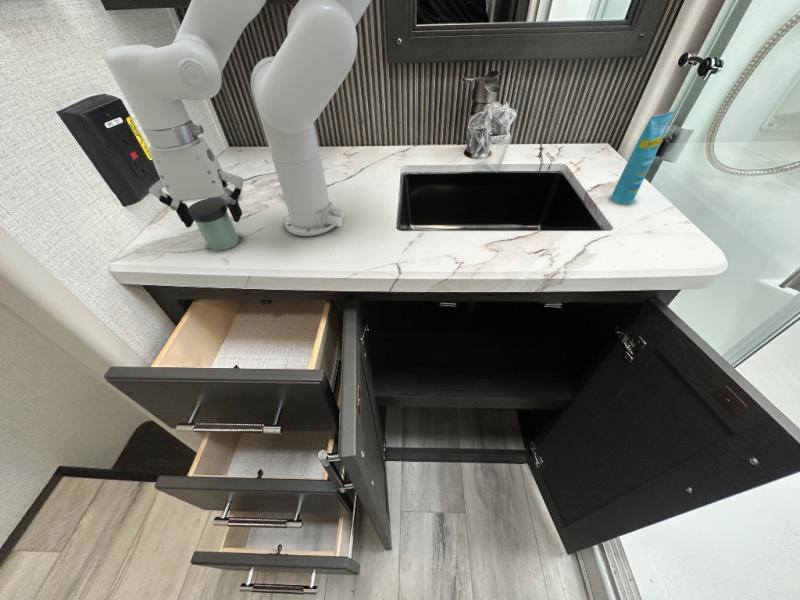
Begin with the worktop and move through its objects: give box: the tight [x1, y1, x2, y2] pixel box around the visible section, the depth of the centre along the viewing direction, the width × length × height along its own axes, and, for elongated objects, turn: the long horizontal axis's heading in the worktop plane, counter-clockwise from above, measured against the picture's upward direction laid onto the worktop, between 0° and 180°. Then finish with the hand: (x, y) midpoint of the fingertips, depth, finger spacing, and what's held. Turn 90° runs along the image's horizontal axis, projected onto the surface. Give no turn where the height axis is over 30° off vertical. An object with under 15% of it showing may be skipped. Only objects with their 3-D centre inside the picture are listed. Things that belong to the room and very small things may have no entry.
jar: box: [194, 210, 240, 252], centre depth 70 cm, size 6×6×8 cm
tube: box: [610, 109, 676, 205], centre depth 74 cm, size 7×5×19 cm, turn 123°
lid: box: [188, 198, 228, 222], centre depth 67 cm, size 7×7×2 cm
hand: (214, 221), depth 69 cm, fingers open, 9 cm apart
